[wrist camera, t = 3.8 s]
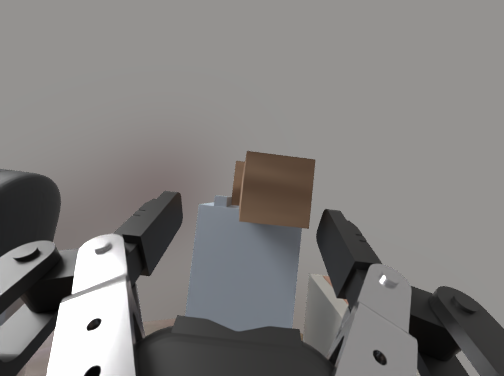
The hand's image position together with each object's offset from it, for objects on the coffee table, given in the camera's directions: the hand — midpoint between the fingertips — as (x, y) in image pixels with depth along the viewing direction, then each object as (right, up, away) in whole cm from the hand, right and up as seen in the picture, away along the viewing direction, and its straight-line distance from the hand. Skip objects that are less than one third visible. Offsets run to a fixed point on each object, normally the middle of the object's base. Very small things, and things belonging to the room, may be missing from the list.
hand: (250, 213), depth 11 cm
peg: (+1, -1, +8) cm, 8 cm away
